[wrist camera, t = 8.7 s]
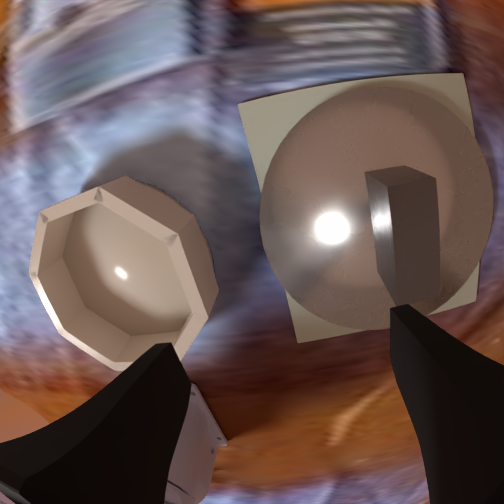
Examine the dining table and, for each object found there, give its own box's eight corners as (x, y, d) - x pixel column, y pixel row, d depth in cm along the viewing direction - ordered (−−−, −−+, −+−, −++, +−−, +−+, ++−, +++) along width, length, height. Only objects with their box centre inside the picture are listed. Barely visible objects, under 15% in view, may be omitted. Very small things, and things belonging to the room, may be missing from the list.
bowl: (236, 326, 22) (227, 364, 18) (103, 340, 24) (81, 370, 21) (182, 156, 18) (156, 165, 14) (44, 208, 20) (9, 226, 16)
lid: (481, 294, 19) (513, 332, 14) (289, 339, 22) (288, 391, 17) (470, 81, 13) (518, 76, 9) (231, 115, 16) (211, 111, 12)
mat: (473, 298, 19) (475, 301, 19) (297, 339, 22) (297, 343, 22) (459, 73, 14) (463, 73, 13) (238, 104, 16) (237, 104, 16)
